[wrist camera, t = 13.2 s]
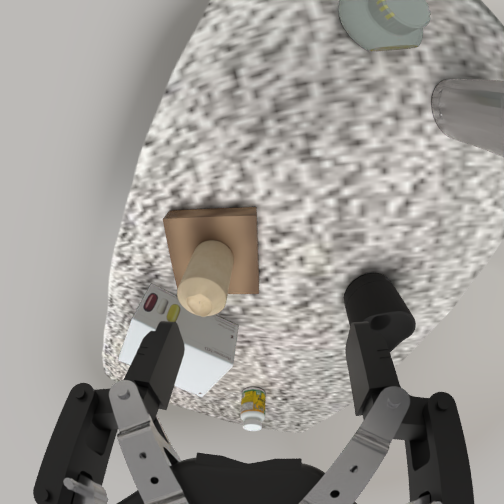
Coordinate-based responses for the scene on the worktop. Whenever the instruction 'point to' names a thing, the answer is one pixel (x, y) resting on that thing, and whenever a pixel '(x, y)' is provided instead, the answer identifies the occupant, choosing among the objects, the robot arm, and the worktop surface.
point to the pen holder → (379, 308)
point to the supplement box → (185, 340)
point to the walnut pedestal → (219, 229)
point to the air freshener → (384, 22)
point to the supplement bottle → (253, 408)
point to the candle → (206, 279)
